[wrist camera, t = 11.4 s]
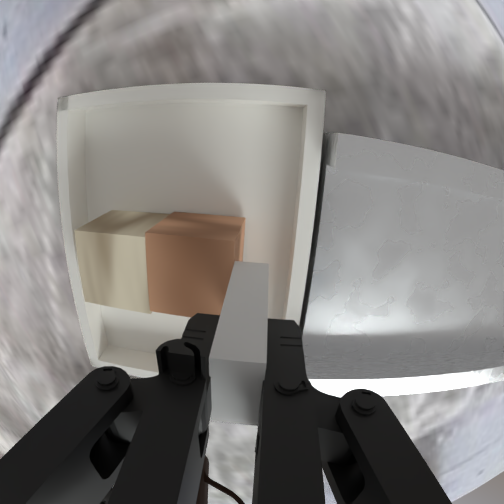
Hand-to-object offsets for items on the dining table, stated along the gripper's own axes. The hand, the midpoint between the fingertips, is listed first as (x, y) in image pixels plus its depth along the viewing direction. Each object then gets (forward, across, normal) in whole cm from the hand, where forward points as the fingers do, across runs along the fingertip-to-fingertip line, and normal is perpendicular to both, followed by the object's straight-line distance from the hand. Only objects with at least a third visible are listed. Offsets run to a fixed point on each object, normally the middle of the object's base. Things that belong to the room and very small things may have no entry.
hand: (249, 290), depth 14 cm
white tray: (+5, -4, 0) cm, 6 cm away
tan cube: (+4, -3, 0) cm, 5 cm away
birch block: (+2, -5, 0) cm, 5 cm away
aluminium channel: (+5, +12, 0) cm, 13 cm away
